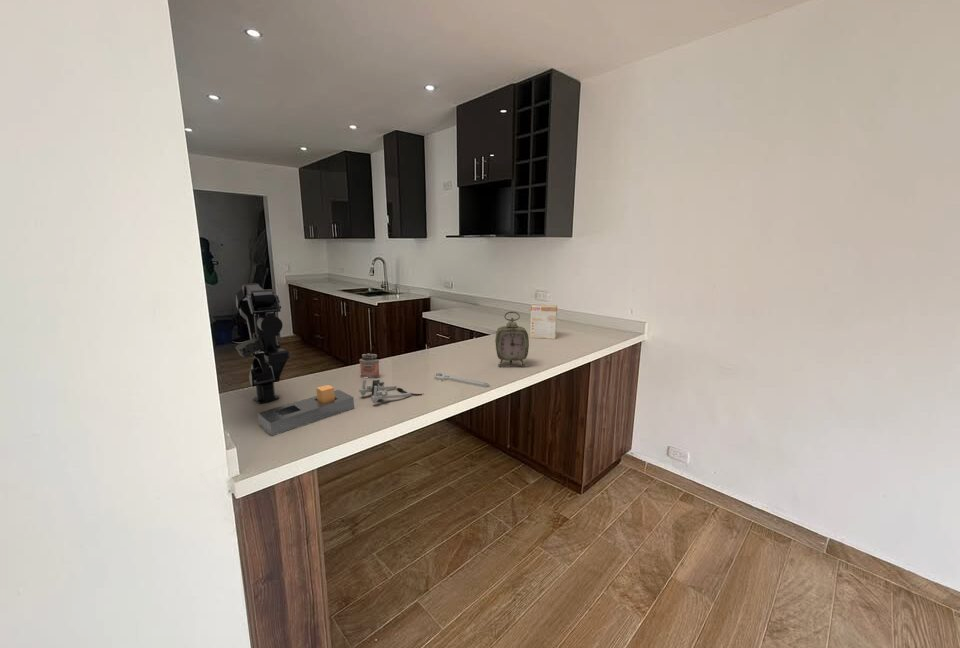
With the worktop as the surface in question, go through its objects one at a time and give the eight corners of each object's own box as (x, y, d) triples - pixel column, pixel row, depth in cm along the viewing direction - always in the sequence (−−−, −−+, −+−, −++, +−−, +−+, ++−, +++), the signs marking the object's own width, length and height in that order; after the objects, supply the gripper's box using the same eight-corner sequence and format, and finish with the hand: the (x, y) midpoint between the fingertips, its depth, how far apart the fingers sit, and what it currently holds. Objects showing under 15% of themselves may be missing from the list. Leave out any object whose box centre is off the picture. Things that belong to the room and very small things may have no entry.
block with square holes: (259, 425, 117) (257, 412, 116) (339, 400, 136) (338, 389, 135) (271, 435, 110) (270, 422, 109) (354, 408, 129) (353, 397, 128)
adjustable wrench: (490, 387, 150) (490, 382, 150) (482, 392, 145) (482, 387, 145) (440, 375, 164) (440, 371, 163) (430, 379, 158) (430, 375, 158)
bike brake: (373, 407, 128) (424, 400, 142) (374, 387, 128) (425, 382, 141) (356, 395, 139) (405, 390, 152) (358, 377, 138) (407, 374, 151)
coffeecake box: (556, 336, 232) (557, 304, 229) (555, 339, 226) (556, 306, 222) (531, 335, 237) (532, 303, 233) (529, 337, 230) (530, 305, 226)
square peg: (318, 410, 127) (316, 387, 126) (329, 407, 130) (328, 384, 129) (323, 414, 125) (322, 390, 123) (335, 410, 127) (333, 387, 126)
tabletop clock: (495, 368, 172) (496, 313, 167) (494, 362, 181) (495, 309, 176) (528, 368, 172) (529, 313, 167) (525, 362, 181) (526, 309, 176)
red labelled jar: (359, 378, 159) (357, 354, 157) (362, 375, 162) (361, 352, 160) (377, 378, 158) (376, 355, 156) (380, 376, 161) (379, 353, 159)
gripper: (227, 329, 121) (233, 376, 124) (247, 338, 109) (253, 390, 112) (265, 324, 129) (270, 368, 133) (288, 332, 117) (292, 381, 120)
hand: (271, 376), depth 124 cm, fingers open, 9 cm apart
